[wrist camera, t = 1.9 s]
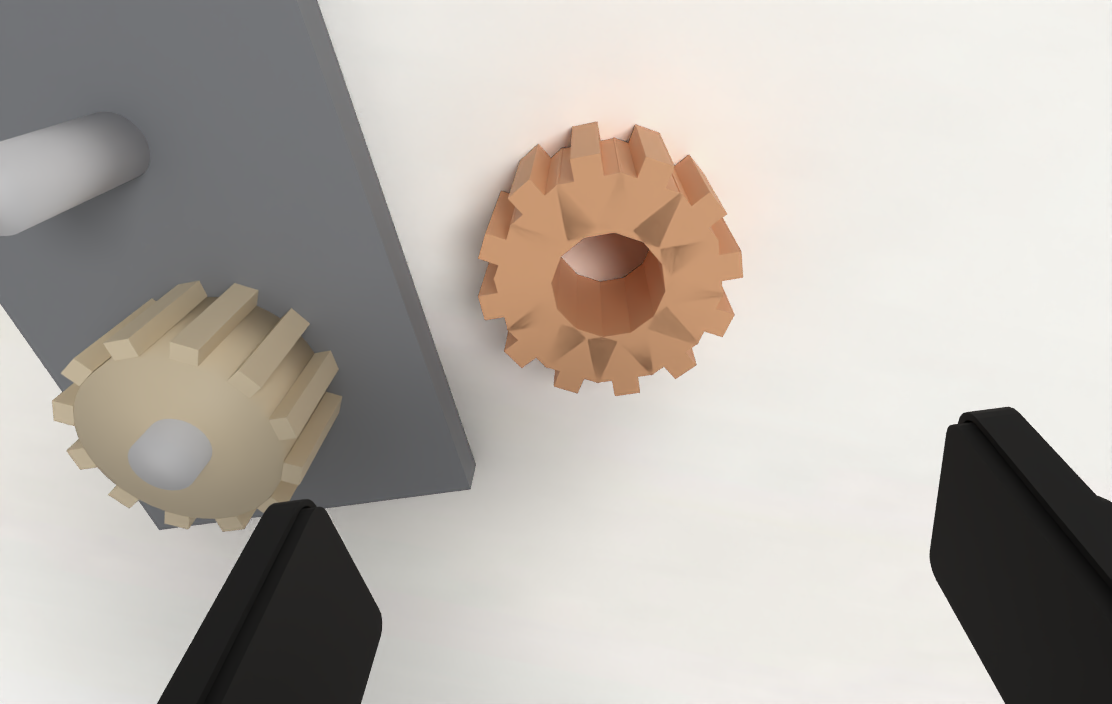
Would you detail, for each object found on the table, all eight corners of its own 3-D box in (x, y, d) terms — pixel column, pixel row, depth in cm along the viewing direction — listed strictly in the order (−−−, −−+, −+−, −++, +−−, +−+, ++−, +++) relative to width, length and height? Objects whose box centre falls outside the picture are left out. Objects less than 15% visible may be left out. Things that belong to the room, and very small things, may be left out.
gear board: (475, 464, 28) (448, 591, 22) (177, 505, 29) (82, 631, 24) (253, -187, 17) (87, -263, 11) (-196, -57, 19) (-531, -68, 13)
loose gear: (725, 316, 24) (749, 376, 20) (521, 349, 25) (511, 411, 21) (707, 99, 20) (733, 127, 16) (467, 148, 21) (445, 183, 17)
